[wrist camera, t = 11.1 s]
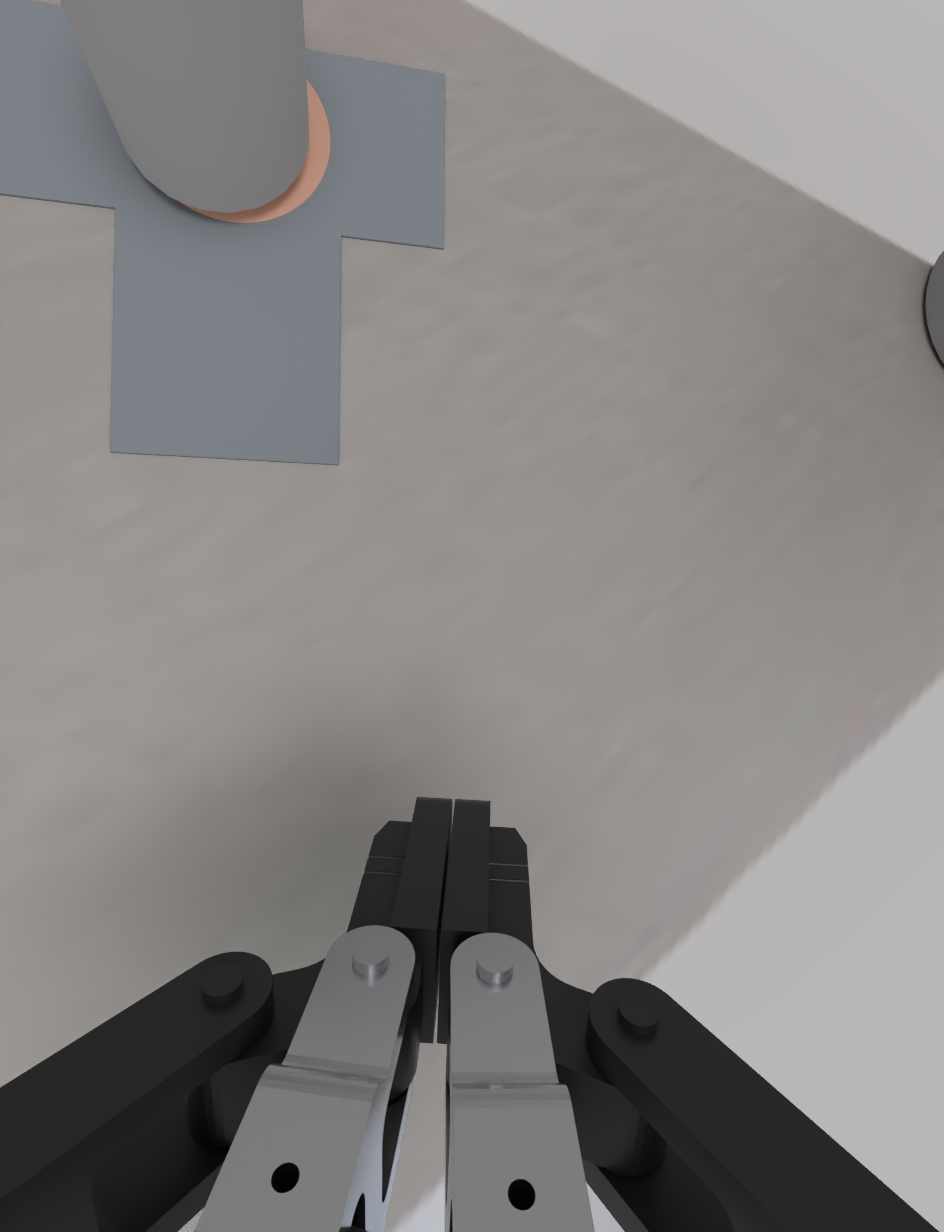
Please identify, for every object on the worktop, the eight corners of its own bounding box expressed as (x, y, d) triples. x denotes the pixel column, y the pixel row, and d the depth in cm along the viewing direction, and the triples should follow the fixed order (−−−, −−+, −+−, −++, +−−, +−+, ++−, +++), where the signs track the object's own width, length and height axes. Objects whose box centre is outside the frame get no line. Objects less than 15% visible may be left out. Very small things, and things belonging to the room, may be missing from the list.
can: (177, 13, 28) (58, -449, 16) (341, 117, 29) (344, -240, 17) (87, 160, 27) (-110, -214, 15) (260, 260, 28) (204, -12, 16)
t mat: (443, 79, 30) (444, 73, 30) (441, 471, 30) (442, 470, 29) (0, 1, 27) (-5, -7, 26) (-13, 446, 26) (-17, 444, 26)
